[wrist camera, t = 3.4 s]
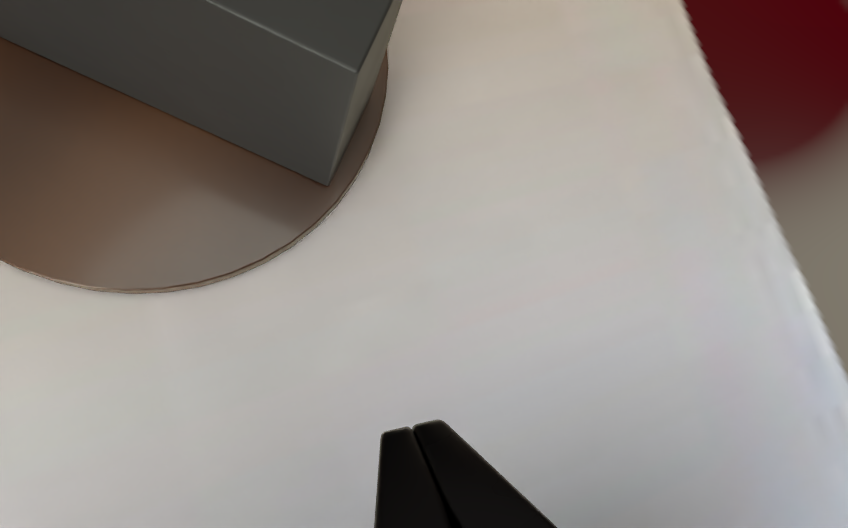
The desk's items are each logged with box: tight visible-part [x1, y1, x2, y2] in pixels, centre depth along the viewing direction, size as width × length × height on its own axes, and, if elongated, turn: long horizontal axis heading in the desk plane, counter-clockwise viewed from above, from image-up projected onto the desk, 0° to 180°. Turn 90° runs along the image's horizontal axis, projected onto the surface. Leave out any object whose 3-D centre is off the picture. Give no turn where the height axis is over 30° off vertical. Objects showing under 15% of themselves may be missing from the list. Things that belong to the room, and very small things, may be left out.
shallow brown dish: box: [0, 37, 388, 294], centre depth 18 cm, size 13×13×1 cm
